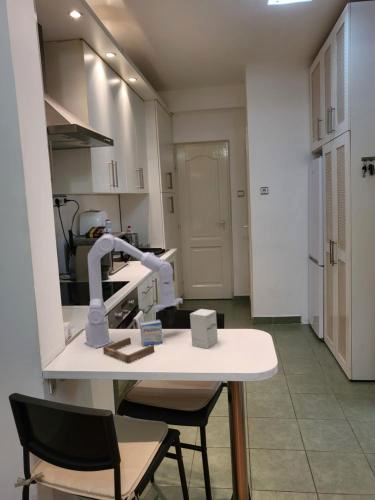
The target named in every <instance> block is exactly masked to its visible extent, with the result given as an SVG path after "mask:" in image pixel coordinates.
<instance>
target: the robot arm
mask: <svg viewBox="0 0 375 500" xmlns="http://www.w3.org/2000/svg"><path fill="white" fill-rule="evenodd" d="M113 250H114V252H124V253H125V254H126V255H127V254H128V255H129V256H132V257H133V258H136V259H137V260H139V261H140V265H141V266H143V267H145V268H146V269H149V270H150V271H152V272H154V273H158V275H159V276H158V278H159V281H158V286H159V296H160V302H159V303H158V304H156V305H154V306H153V307H152V310H153V313H158V312H159V311H161V313H162V315H163V317H164V319H165V322H166V324H167V325H169V326H172V325H173V324H174V320H175V314H176V312H177V310H178V306H177V305H178V304H179V305H180V304H183V301H184V300H183V297H182V298H180V297H177V298H176V297H175V295H176V294H175V285H174V279H173V278H174V276H173V274H174V270H173V266H172V265H171V263H169V261H166V260H165V259H164V258H159V257H158V256H156V255H155V253H154V252H148V251H147V252H143V251H141V250H140V249H138V248H137V247H135V246H134V245H131V244H130V243H128V242H127V241H125V240H124V239H121V238H119V237H117V236H114V235H113V234H111V233H105V234H103V235H101V237H99V238H98V239H97V240H96V241H95V243H93V246H92V247H91V249H90V251H89V252H88V253H87V267H88V271H87V272H88V285H89V286H88V287H89V299H90V301H89V312H88V313H87V320H88V321H87V322H86V324H85V326H84V328H85V329H84V330H85V338H86V341H84V344H85V345H88V346H92V347H94V348H96V349H98V348H99V349H100V348H101V347H102V348H103V347H105V346H108V345H111V344H113V343H115V341H114V340H113V339H110V334H109V324H108V318H107V317H106V316H105V315H106V313H107V308H106V306H105V304H104V298H103V288H102V287H103V286H102V285H103V283H102V269H101V268H102V267H101V265H102V264H101V259H102V258H103V257H104V256H105V255H106V254H108V253H110V252H112V251H113Z"/></svg>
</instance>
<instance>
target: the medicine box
mask: <svg viewBox="0 0 375 500" xmlns="http://www.w3.org/2000/svg"><path fill="white" fill-rule="evenodd" d="M139 330H140V341H141V344H142V346H143V347H144V346H145V347H148V346H149V345H153V346H155V345H154V344H156V345H160V344H163V343H164V342H163V341H164V339H163V328H162V321H161V320H160V319H154V320H149V321H148V320H147V321H141V322H140V321H139Z"/></svg>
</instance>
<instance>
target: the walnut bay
mask: <svg viewBox="0 0 375 500" xmlns="http://www.w3.org/2000/svg"><path fill="white" fill-rule="evenodd" d="M129 344H130V345H132V340H131V338H130V337H127V338H123V339H121V340H118V341H116V342H112V343H110V344H107V345H104V346H102V350H103V354H104V355H105V356H109V357H112V358H113V357H114V358H113V359H116V360H118V359H120V360H119V361H121V360H122V361H121V362H123V361H125V362H124V363H126V362H127V364H128V363H129V364H131V363H133V362H135V360H136V361H138V360H140V359H143V358H144V357H147V356H149V355H151V354H154V353H155V345H151V346H145V347H144V348H141V349H140V350H137V351H134V352H131V353H130V354H127V353H124V352H122V351H118V350H120V349H122V348H121V347H123V348H125V347H127V346H126V345H128V346H130V345H129ZM124 346H125V347H124ZM119 348H120V349H119ZM117 349H118V350H117ZM153 352H154V353H153ZM137 359H138V360H137ZM132 361H133V362H132ZM130 362H131V363H130Z"/></svg>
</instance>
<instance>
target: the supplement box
mask: <svg viewBox="0 0 375 500" xmlns="http://www.w3.org/2000/svg"><path fill="white" fill-rule="evenodd" d="M189 319H190V322H189V323H190V332H191V333H190V336H191V345H192V346H194V347H198V348H203V349H209V348H210V347H211V346H213V345H215V344H217V343H218V342H219V341H218V338H219V337H218V325H217V324H218V323H217V311H216V310H213V309H205V308H199V309H198V310H195V311H193V312H191V313H189Z"/></svg>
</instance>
